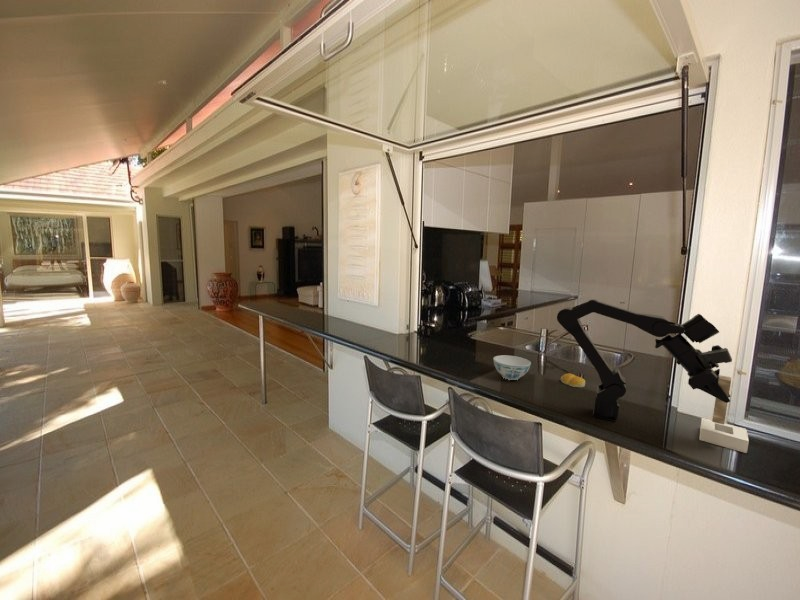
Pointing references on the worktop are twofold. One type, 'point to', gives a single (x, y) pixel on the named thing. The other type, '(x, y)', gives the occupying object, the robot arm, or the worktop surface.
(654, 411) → the worktop surface
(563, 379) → the bread roll
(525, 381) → the worktop surface
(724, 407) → the slat
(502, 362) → the chinaware
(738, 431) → the end cap
